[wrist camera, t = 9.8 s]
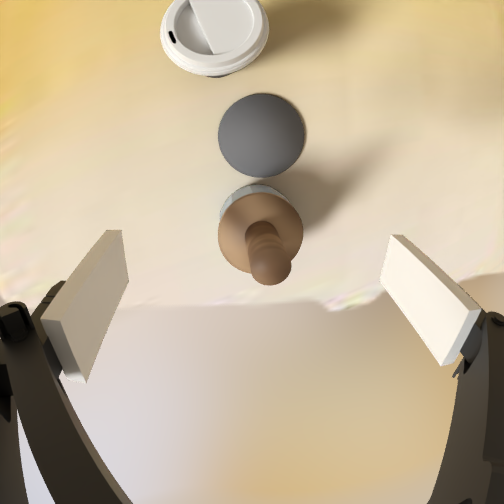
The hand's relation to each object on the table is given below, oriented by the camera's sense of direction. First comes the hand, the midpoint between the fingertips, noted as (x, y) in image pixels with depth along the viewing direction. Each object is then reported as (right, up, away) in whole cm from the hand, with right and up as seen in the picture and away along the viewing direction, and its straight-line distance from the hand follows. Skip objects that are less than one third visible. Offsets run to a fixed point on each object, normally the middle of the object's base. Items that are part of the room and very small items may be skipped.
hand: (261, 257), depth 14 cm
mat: (+1, +15, +24) cm, 28 cm away
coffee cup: (-5, +25, +18) cm, 32 cm away
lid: (+1, +3, +24) cm, 24 cm away
